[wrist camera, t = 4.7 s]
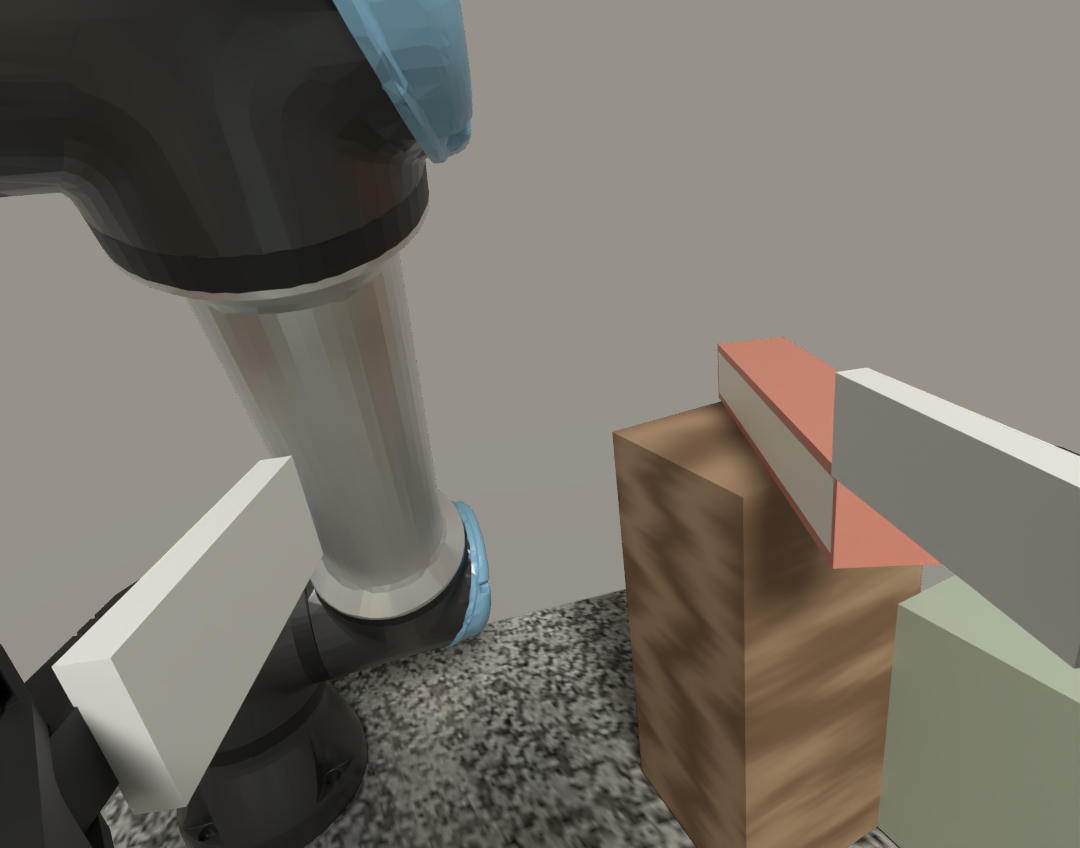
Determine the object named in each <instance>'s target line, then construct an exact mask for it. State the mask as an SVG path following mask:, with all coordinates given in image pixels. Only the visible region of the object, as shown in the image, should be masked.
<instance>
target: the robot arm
mask: <svg viewBox="0 0 1080 848" xmlns="http://www.w3.org/2000/svg"><path fill="white" fill-rule="evenodd" d="M471 117H472V90H471V78H470V70H469V61H468V53H467V45H466V39H465V31H464V25H463V17H462V12H461V5H460V0H0V197H8V196H20V195H21V196H22V195H31V194H45V193H63V194H64V195H66V196H67V197H68V198H70V199H71V200H72V201H73V203H74V204H75V206H76V207H77V208H78V209H79V211H80V213H81V214H82V216H83V217H84V219H85V221H86V222H87V224H88V225H89V227H90V229H91V230H92V232H93V233H94V235H95V236H96V238H97V240H98V241H99V243H100V245H101V246H102V248H103V249H104V251H105V252H106V254H107V255H108V257H109V258H110V260H111V261H112V262H113V263H114V264H115V265H116V266H117V267H118V268H119V269H120V270H121V271H122V272H124V273H125V274H126V275H128V276H129V277H130V278H132V279H134V280H136V281H138V282H140V283H142V284H144V285H146V286H148V287H150V288H153V289H157V290H160V291H163V292H167V293H170V294H174V295H178V296H183V297H186V299H187V301H188V303H189V305H190V306H191V309H192V311H193V313H194V314H195V316H196V318H197V320H198V322H199V324H200V325H201V328H202V329H203V331H204V333H205V335H206V337H207V339H208V341H209V342H210V344H211V346H212V348H213V350H214V352H215V354H216V355H217V357H218V359H219V361H220V363H221V365H222V367H223V369H224V370H225V372H226V374H227V376H228V378H229V380H230V382H231V383H232V385H233V387H234V389H235V391H236V393H237V395H238V396H239V399H240V400H241V402H242V404H243V406H244V408H245V410H246V412H247V414H248V415H249V417H250V419H251V421H252V423H253V425H254V427H255V428H256V430H257V432H258V434H259V436H260V438H261V440H262V442H263V443H264V445H265V447H266V449H267V451H268V453H269V455H270V457H271V458H272V459H266V460H260V461H259V462H258V463H257V464H256V465H255V466H254V467H253V468H252V469H251V470H250V471H249V472H248V473H247V474H246V475H245V476H244V477H243V478H242V479H241V480H240V481H239V482H238V483H237V484H236V485H235V486H234V487H233V488H232V489H231V490H230V491H229V492H228V493H227V494H226V495H225V496H224V497H223V498H222V499H221V500H220V501H219V502H218V503H217V504H216V505H215V506H214V507H213V508H212V509H210V510H209V511H208V513H206V514H205V515H204V517H202V518H201V519H200V520H199V521H198V522H197V523H196V524H195V525H194V526H193V527H192V528H191V529H190V530H189V531H188V532H187V533H186V534H185V535H184V536H183V537H182V538H181V539H180V540H179V541H178V542H177V543H176V544H175V545H174V546H173V547H172V548H171V549H170V550H169V551H168V552H167V553H166V554H165V555H164V556H163V557H162V558H161V559H160V560H159V561H158V562H157V563H156V564H155V565H154V566H153V567H152V568H151V569H150V570H149V571H148V572H147V573H146V574H145V575H144V576H143V577H142V578H141V579H139V580H138V581H136V582H135V583H133V584H132V585H130V586H129V587H127V588H126V589H124V590H122V591H121V592H119V593H118V594H116V595H115V596H114V597H113V598H112V599H111V600H110V601H109V602H108V603H107V604H106V605H105V606H104V607H103V608H102V609H101V610H100V611H99V612H98V613H96V614H95V619H90V620H89V621H88V622H87V623H86V624H85V625H84V626H83V627H82V628H81V629H80V630H79V631H78V632H77V633H78V635H77V636H73V637H72V638H71V639H70V640H69V641H68V642H67V643H65V644H64V646H62V647H61V648H60V649H59V650H58V651H57V652H56V653H55V654H54V655H53V656H52V657H51V658H50V659H49V660H48V661H47V662H46V663H45V664H44V665H43V666H42V667H41V668H40V669H39V670H38V671H37V672H36V673H34V674H33V675H32V676H31V677H30V678H29V679H28V680H27V681H26V682H25V683H24V682H23V680H22V679H21V677H20V675H19V674H18V672H17V670H16V669H15V667H14V665H13V663H12V662H11V660H10V658H9V657H8V655H7V653H6V652H5V650H4V648H3V647H2V645H1V644H0V848H114V846H113V841H112V836H111V832H110V828H109V827H108V825H107V823H106V822H105V820H104V818H103V817H102V815H101V813H100V811H101V810H102V808H103V807H104V805H105V804H106V802H107V801H108V799H109V798H110V796H111V795H112V793H113V792H114V790H115V789H116V788H117V786H118V787H119V789H120V791H121V792H122V794H123V796H124V798H125V800H126V801H127V803H128V805H129V807H130V809H131V810H132V812H133V814H134V815H137V814H143V813H150V812H156V811H162V810H169V809H175V808H177V820H178V826H179V829H180V832H181V834H182V837H183V839H184V841H185V843H186V846H187V848H301V847H303V846H304V845H306V844H307V843H309V842H310V841H312V840H313V839H314V838H315V837H317V836H318V835H319V834H320V833H321V832H323V831H324V830H325V829H326V828H327V827H328V826H329V825H330V824H331V823H332V822H333V821H334V820H335V819H336V818H337V817H338V816H339V815H340V813H341V812H342V811H343V810H344V808H345V807H346V806H347V805H348V803H349V802H350V800H351V799H352V797H353V796H354V794H355V792H356V790H357V789H358V787H359V785H360V782H361V780H362V778H363V775H364V772H365V769H366V764H367V757H368V748H367V742H366V738H365V734H364V731H363V728H362V724H361V722H360V719H359V718H358V716H357V714H356V712H355V711H354V710H353V709H352V707H351V706H350V705H349V704H348V703H347V702H346V701H345V700H344V698H343V697H342V696H341V695H340V694H339V693H338V692H337V691H336V689H335V688H334V687H333V686H332V685H331V684H330V683H329V681H328V680H330V679H334V678H336V677H340V676H343V675H347V674H350V673H354V672H357V671H360V670H364V669H367V668H371V667H374V666H378V665H381V664H384V663H388V662H391V661H395V660H398V659H402V658H405V657H408V656H412V655H415V654H419V653H422V652H426V651H429V650H432V649H436V648H439V647H441V648H447V647H451V646H454V645H455V644H457V643H458V642H459V641H461V640H464V639H467V638H470V637H473V636H475V635H477V634H478V633H480V632H481V631H482V630H483V629H484V627H485V626H486V624H487V621H488V618H489V615H490V607H491V591H490V586H489V583H488V579H489V568H488V561H487V555H486V550H485V545H484V541H483V537H482V533H481V530H480V527H479V523H478V521H477V518H476V516H475V514H474V512H473V510H472V509H471V507H470V506H469V505H467V504H465V503H464V502H462V501H455V502H453V501H451V500H450V499H449V498H448V497H447V496H446V495H445V494H444V493H442V492H441V491H440V490H438V489H437V484H436V478H435V472H434V466H433V459H432V453H431V447H430V441H429V434H428V428H427V422H426V416H425V410H424V403H423V397H422V391H421V385H420V379H419V373H418V366H417V360H416V354H415V347H414V341H413V336H412V329H411V323H410V317H409V310H408V304H407V298H406V292H405V285H404V279H403V274H402V267H401V261H400V254H399V251H400V250H401V249H403V248H404V247H405V246H406V245H407V244H408V243H409V242H410V241H411V240H412V239H413V238H414V236H415V235H416V234H417V233H418V231H419V230H420V228H421V226H422V225H423V223H424V221H425V218H426V216H427V213H428V207H429V190H428V181H427V172H426V163H425V159H426V158H427V157H428V158H429V159H430V160H431V161H432V162H433V163H443V162H445V161H446V160H447V158H448V157H450V156H452V155H454V154H457V153H460V152H461V151H462V150H463V149H465V148H466V146H467V144H468V143H469V140H470V137H471V124H470V120H471ZM831 476H832V477H833V478H835V479H836V480H837V481H838V482H840V483H841V484H842V485H843V486H845V487H846V488H847V489H848V490H850V491H851V492H852V493H853V494H855V495H856V496H857V497H859V498H860V499H861V500H862V501H864V502H865V503H866V504H867V505H869V506H870V507H871V508H872V509H874V510H875V511H876V512H877V513H879V514H880V515H881V516H882V517H884V518H885V519H886V520H887V521H889V522H890V523H891V524H892V525H894V526H895V527H896V528H897V529H899V530H900V531H901V532H903V533H904V534H905V535H906V536H908V537H909V538H910V539H911V540H913V541H914V542H915V543H916V544H918V545H919V546H920V547H921V548H923V549H924V550H925V551H926V552H928V553H929V554H930V555H931V556H933V557H934V558H935V559H936V560H938V561H939V562H940V563H942V564H943V565H944V566H945V567H947V568H948V569H949V570H950V571H952V572H953V573H954V574H955V575H957V576H958V577H959V578H960V579H962V580H963V581H964V582H965V583H967V584H968V585H969V586H970V587H972V588H973V589H974V590H975V591H977V592H978V593H979V594H980V595H982V596H983V597H984V598H986V599H987V600H988V601H989V602H991V603H992V604H993V605H994V606H996V607H997V608H998V609H999V610H1001V611H1002V612H1003V613H1004V614H1006V615H1007V616H1008V617H1009V618H1011V619H1012V620H1013V621H1014V622H1016V623H1017V624H1018V625H1019V626H1021V627H1022V628H1023V629H1024V630H1026V631H1027V632H1028V633H1030V634H1031V635H1032V636H1033V637H1035V638H1036V639H1037V640H1038V641H1040V642H1041V643H1042V644H1043V645H1045V646H1046V647H1047V648H1048V649H1050V650H1051V651H1052V652H1053V653H1055V654H1056V655H1057V656H1058V657H1060V658H1061V659H1062V660H1063V661H1065V662H1066V663H1067V664H1068V665H1070V666H1071V667H1072V668H1074V669H1076V668H1080V455H1079V454H1077V453H1074V452H1072V451H1070V450H1067V449H1065V448H1062V447H1058V446H1054V445H1051V444H1049V443H1046V442H1044V441H1042V440H1039V439H1037V438H1035V437H1032V436H1030V435H1027V434H1025V433H1023V432H1020V431H1018V430H1015V429H1013V428H1010V427H1008V426H1006V425H1003V424H1001V423H998V422H996V421H994V420H991V419H989V418H986V417H984V416H982V415H979V414H977V413H975V412H972V411H970V410H967V409H965V408H962V407H960V406H958V405H955V404H953V403H951V402H948V401H945V400H943V399H941V398H939V397H936V396H934V395H931V394H929V393H927V392H924V391H922V390H919V389H917V388H914V387H912V386H910V385H907V384H905V383H903V382H900V381H898V380H895V379H893V378H891V377H888V376H886V375H883V374H881V373H878V372H876V371H874V370H871V369H869V368H861V369H855V370H848V371H842V372H835V395H834V420H833V445H832V470H831Z"/></svg>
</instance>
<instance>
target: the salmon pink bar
mask: <svg viewBox="0 0 1080 848" xmlns="http://www.w3.org/2000/svg"><path fill="white" fill-rule="evenodd" d="M835 372H838V371H837V370H835V369H834V368H832V367H830V366H829V365H827V364H826V363H824V362H822V361H821V360H819V359H818V358H816V357H815V356H813V355H811V354H810V353H808V352H807V351H805V350H803V349H802V348H800V347H798V346H797V345H796V344H794V343H792V342H791V341H789V340H787V339H786V338H784V337H781V338H770V339H760V340H750V341H740V342H729V343H719V344H718V383H719V399H720V400H721V402H722V403H723V405H724V406H725V408H726V409H727V411H728V412H729V414H730V415H731V417H732V418H733V420H734V421H735V422H736V424H737V425H738V427H739V428H740V430H741V431H742V433H743V434H744V436H745V437H746V439H747V440H748V442H749V443H750V445H751V446H752V448H753V449H754V451H755V452H756V454H757V455H758V457H759V458H760V460H761V461H762V463H763V464H764V466H765V467H766V469H767V470H768V472H769V473H770V475H771V476H772V478H773V479H774V481H775V482H776V484H777V485H778V487H779V488H780V490H781V491H782V493H783V494H784V496H785V497H786V499H787V500H788V502H789V503H790V505H791V506H792V508H793V509H794V511H795V512H796V514H797V515H798V517H799V518H800V520H801V521H802V523H803V524H804V526H805V527H806V529H807V530H808V532H809V533H810V535H811V536H812V538H813V539H814V541H815V542H816V544H817V545H818V547H819V548H820V550H821V551H822V553H823V554H824V556H825V557H826V559H827V560H828V562H829V563H830V565H831V566H832V568H833V569H839V568H861V567H883V566H906V565H927V564H942V563H940V562H939V561H938V560H936V559H935V558H934V557H933V556H931V555H930V554H929V553H928V552H926V551H925V550H924V549H923V548H921V547H920V546H919V545H918V544H916V543H915V542H914V541H913V540H911V539H910V538H909V537H908V536H906V535H905V534H904V533H903V532H901V531H900V530H899V529H897V528H896V527H895V526H894V525H892V524H891V523H890V522H889V521H887V520H886V519H885V518H884V517H882V516H881V515H880V514H879V513H877V512H876V511H875V510H874V509H872V508H871V507H870V506H869V505H867V504H866V503H865V502H864V501H862V500H861V499H860V498H859V497H857V496H856V495H855V494H853V493H852V492H851V491H850V490H848V489H847V488H846V487H845V486H843V485H842V484H841V483H840V482H838V481H837V480H836V479H835V478H833V477H832V476H831V470H832V445H833V420H834V395H835Z"/></svg>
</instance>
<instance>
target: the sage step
mask: <svg viewBox="0 0 1080 848" xmlns="http://www.w3.org/2000/svg"><path fill="white" fill-rule="evenodd" d="M877 826H878V827H879V828H880V829H881V830H882V831H883V832H884V833H885V834H886V835H887V836H888V837H889V838H890V839H891V840H892V841H894V842H895V843H896V844H897V845H898V846H899V847H900V848H1080V668H1076V669H1074V668H1072V667H1071V666H1070V665H1068V664H1067V663H1066V662H1065V661H1063V660H1062V659H1061V658H1060V657H1058V656H1057V655H1056V654H1055V653H1053V652H1052V651H1051V650H1050V649H1048V648H1047V647H1046V646H1045V645H1043V644H1042V643H1041V642H1040V641H1038V640H1037V639H1036V638H1035V637H1033V636H1032V635H1031V634H1030V633H1028V632H1027V631H1026V630H1024V629H1023V628H1022V627H1021V626H1019V625H1018V624H1017V623H1016V622H1014V621H1013V620H1012V619H1011V618H1009V617H1008V616H1007V615H1006V614H1004V613H1003V612H1002V611H1001V610H999V609H998V608H997V607H996V606H994V605H993V604H992V603H991V602H989V601H988V600H987V599H986V598H984V597H983V596H982V595H980V594H979V593H978V592H977V591H975V590H974V589H973V588H972V587H970V586H969V585H968V584H967V583H965V582H964V581H963V580H962V579H960V578H959V577H958V576H957V575H954V576H952V577H950V578H948V579H947V580H944V581H942V582H940V583H939V584H937V585H935V586H933V587H931V588H929V589H927V590H925V591H923V592H921V593H919V594H917V595H915V596H913V597H911V598H909V599H907V600H905V601H903V602H901V603H899V604H898V611H897V622H896V633H895V643H894V654H893V665H892V676H891V686H890V697H889V708H888V718H887V729H886V740H885V750H884V761H883V772H882V782H881V793H880V804H879V814H878V825H877Z"/></svg>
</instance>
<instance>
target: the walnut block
mask: <svg viewBox="0 0 1080 848" xmlns="http://www.w3.org/2000/svg"><path fill="white" fill-rule="evenodd" d="M613 444H614V456H615V467H616V478H617V490H618V501H619V513H620V525H621V534H622V535H621V536H622V545H623V546H622V547H623V559H624V570H625V582H626V593H627V605H628V616H629V628H630V639H631V651H632V662H633V674H634V685H635V697H636V708H637V720H638V731H639V742H640V754H641V765H642V772H643V773H644V774H645V776H646V777H647V778H648V780H649V781H650V783H651V784H652V785H653V787H654V788H655V790H656V791H657V792H658V794H659V795H660V797H661V798H662V799H663V801H664V802H665V803H666V805H667V806H668V808H669V809H670V810H671V812H672V813H673V815H674V816H675V817H676V819H677V820H678V822H679V823H680V824H681V826H682V827H683V829H684V830H685V831H686V833H687V834H688V835H689V837H690V838H691V840H692V841H693V842H694V844H695V845H696V847H697V848H847V847H848V846H850V845H851V844H853V843H854V842H856V841H857V840H858V839H860V838H861V837H863V836H864V835H866V834H867V833H869V832H870V831H871V830H873V829H874V828H876V827H877V825H878V814H879V804H880V793H881V782H882V772H883V761H884V750H885V740H886V729H887V718H888V708H889V697H890V686H891V676H892V665H893V654H894V643H895V633H896V622H897V611H898V604H899V603H901V602H903V601H905V600H907V599H909V598H911V597H913V596H915V595H917V594H919V593H920V589H921V581H922V570H923V565H906V566H883V567H861V568H839V569H833V568H832V566H831V565H830V563H829V562H828V560H827V559H826V557H825V556H824V554H823V553H822V551H821V550H820V548H819V547H818V545H817V544H816V542H815V541H814V539H813V538H812V536H811V535H810V533H809V532H808V530H807V529H806V527H805V526H804V524H803V523H802V521H801V520H800V518H799V517H798V515H797V514H796V512H795V511H794V509H793V508H792V506H791V505H790V503H789V502H788V500H787V499H786V497H785V496H784V494H783V493H782V491H781V490H780V488H779V487H778V485H777V484H776V482H775V481H774V479H773V478H772V476H771V475H770V473H769V472H768V470H767V469H766V467H765V466H764V464H763V463H762V461H761V460H760V458H759V457H758V455H757V454H756V452H755V451H754V449H753V448H752V446H751V445H750V443H749V442H748V440H747V439H746V437H745V436H744V434H743V433H742V431H741V430H740V428H739V427H738V425H737V424H736V422H735V421H734V420H733V418H732V417H731V415H730V414H729V412H728V411H727V409H726V408H725V406H724V405H723V403H722V402H718V403H715V404H711V405H707V406H703V407H700V408H696V409H693V410H689V411H686V412H682V413H679V414H675V415H671V416H668V417H664V418H661V419H657V420H654V421H650V422H647V423H643V424H639V425H636V426H632V427H629V428H625V429H621V430H618V431H615V432H613Z"/></svg>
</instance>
